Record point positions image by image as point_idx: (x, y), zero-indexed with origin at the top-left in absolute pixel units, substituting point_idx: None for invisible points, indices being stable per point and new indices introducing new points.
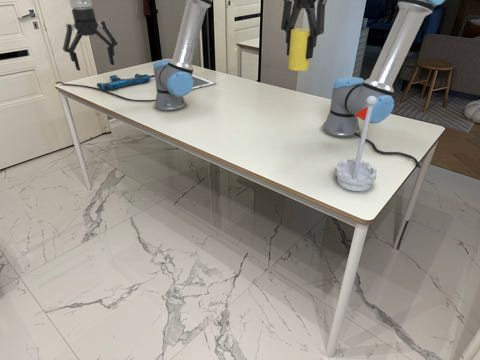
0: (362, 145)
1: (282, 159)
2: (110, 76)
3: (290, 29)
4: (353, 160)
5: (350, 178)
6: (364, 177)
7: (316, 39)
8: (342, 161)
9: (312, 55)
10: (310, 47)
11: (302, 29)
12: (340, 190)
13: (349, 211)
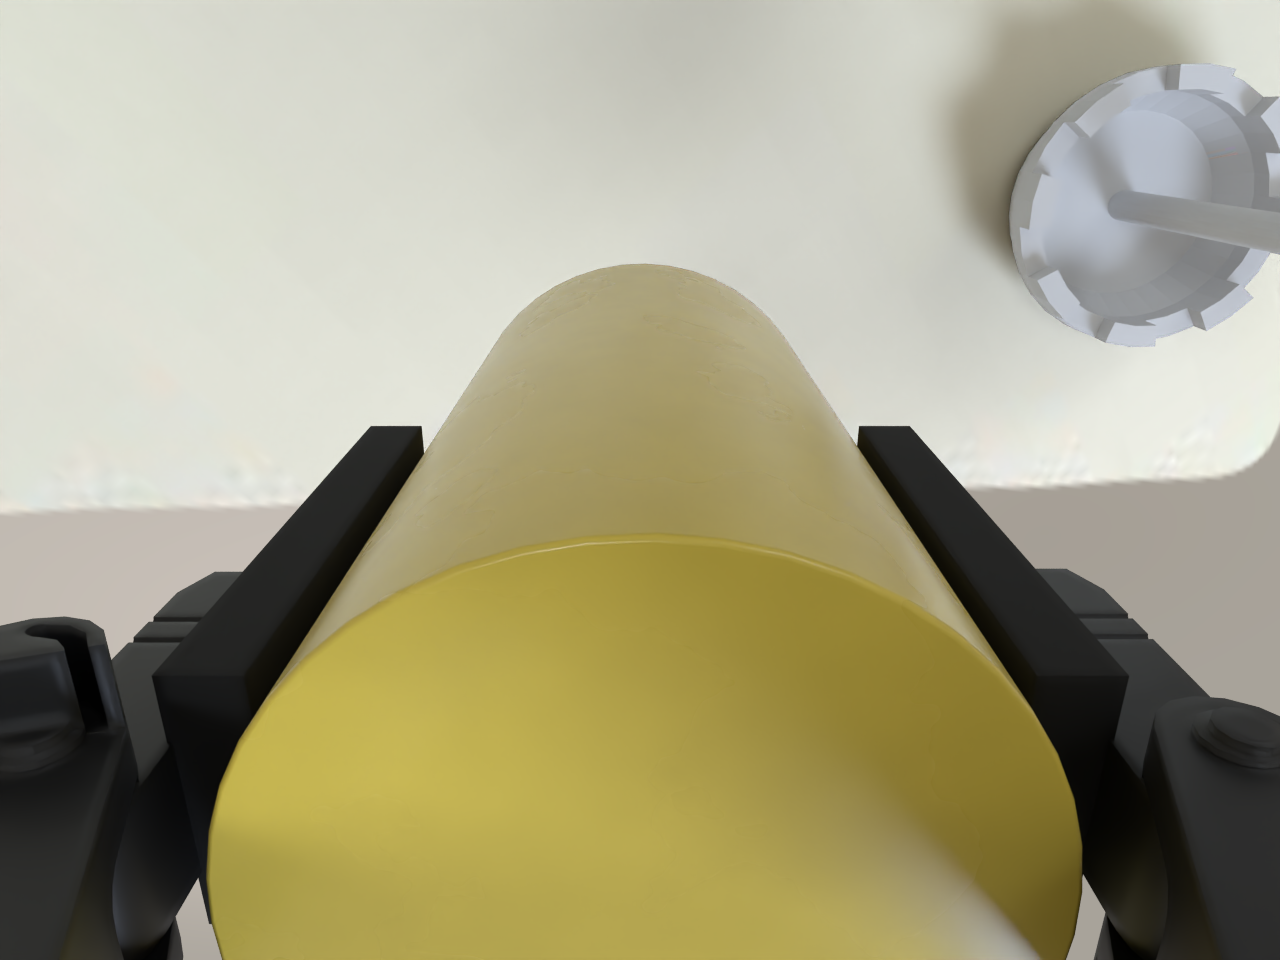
0: None
1: (600, 263)
2: None
3: (117, 908)
4: (1116, 113)
5: (1098, 209)
6: (1241, 287)
7: (1187, 692)
8: (1052, 187)
9: (920, 445)
10: None
11: (577, 805)
12: (1068, 337)
13: (1167, 473)
